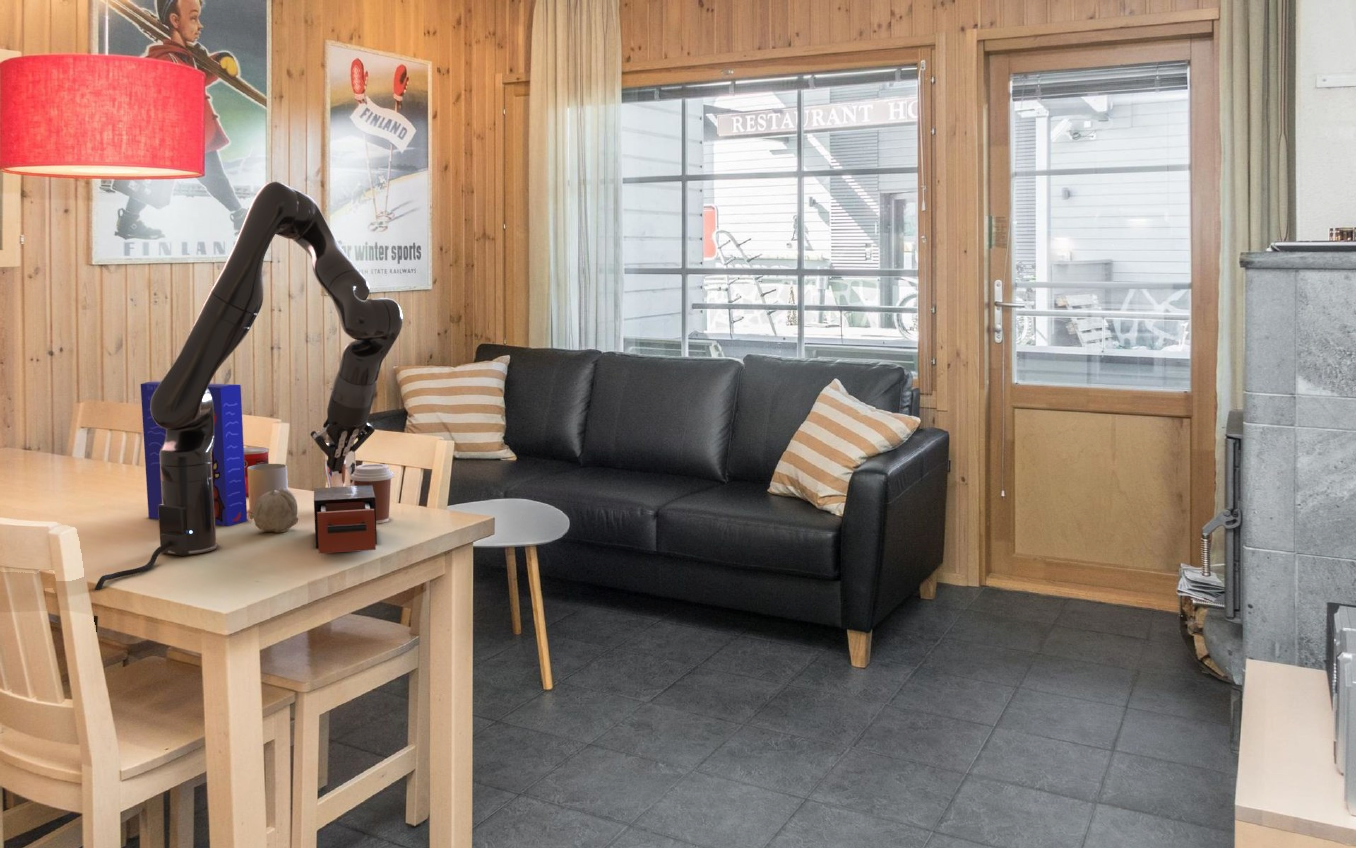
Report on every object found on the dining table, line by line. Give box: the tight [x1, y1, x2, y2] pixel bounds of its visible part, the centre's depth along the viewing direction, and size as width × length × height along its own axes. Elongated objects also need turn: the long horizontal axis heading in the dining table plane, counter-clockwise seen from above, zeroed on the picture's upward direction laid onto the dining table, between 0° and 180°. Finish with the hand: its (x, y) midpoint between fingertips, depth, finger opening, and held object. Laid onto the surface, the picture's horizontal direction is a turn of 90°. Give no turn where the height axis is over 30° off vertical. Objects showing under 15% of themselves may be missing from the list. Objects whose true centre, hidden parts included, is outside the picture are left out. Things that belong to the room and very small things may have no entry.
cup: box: [247, 463, 289, 514], centre depth 257 cm, size 8×8×10 cm
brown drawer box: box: [317, 501, 377, 554], centre depth 219 cm, size 17×10×8 cm, turn 18°
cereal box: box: [140, 380, 248, 527], centre depth 246 cm, size 22×6×30 cm, turn 70°
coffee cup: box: [351, 463, 395, 525], centre depth 246 cm, size 9×9×12 cm
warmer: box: [313, 485, 378, 550], centre depth 229 cm, size 14×12×10 cm
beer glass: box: [323, 442, 357, 487], centre depth 258 cm, size 7×7×15 cm
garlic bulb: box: [247, 488, 299, 534], centre depth 236 cm, size 9×8×10 cm
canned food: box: [244, 446, 270, 497], centre depth 276 cm, size 8×8×11 cm
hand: (333, 468), depth 216 cm, fingers closed
